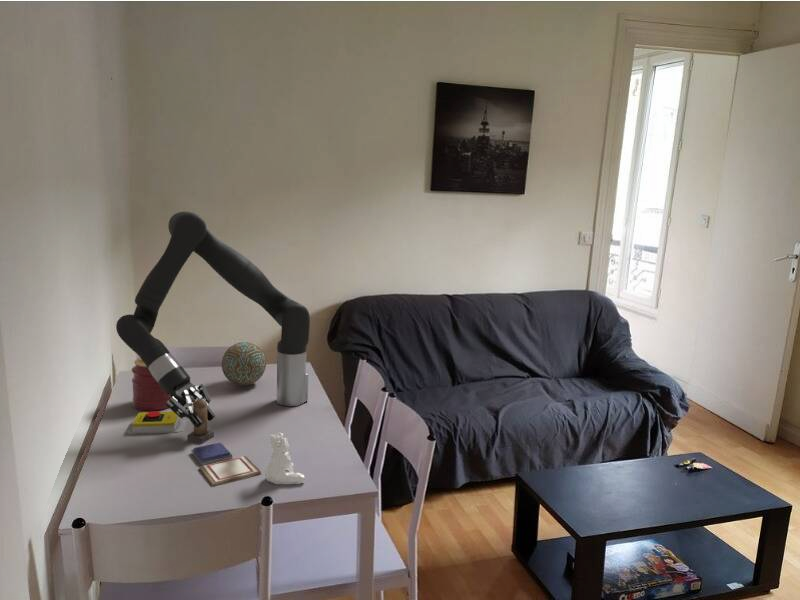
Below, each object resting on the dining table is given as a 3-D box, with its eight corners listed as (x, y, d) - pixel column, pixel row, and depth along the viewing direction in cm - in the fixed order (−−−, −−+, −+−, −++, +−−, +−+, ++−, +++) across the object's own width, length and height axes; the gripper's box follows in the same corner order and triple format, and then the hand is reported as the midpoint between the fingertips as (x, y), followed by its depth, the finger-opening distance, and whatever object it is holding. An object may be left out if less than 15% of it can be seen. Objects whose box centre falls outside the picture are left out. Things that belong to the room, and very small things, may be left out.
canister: (150, 415, 182) (148, 358, 179) (123, 405, 189) (121, 350, 186) (186, 402, 193) (185, 349, 190) (159, 393, 200) (158, 342, 197)
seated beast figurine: (307, 484, 146) (308, 437, 144) (273, 492, 142) (273, 444, 139) (291, 467, 154) (292, 423, 152) (258, 475, 149) (259, 429, 147)
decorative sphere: (266, 390, 208) (266, 348, 205) (220, 392, 204) (220, 349, 201) (265, 376, 222) (265, 337, 219) (222, 378, 218) (222, 337, 216)
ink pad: (221, 446, 164) (221, 441, 163) (232, 458, 157) (232, 452, 157) (191, 453, 159) (191, 447, 159) (201, 465, 153) (201, 459, 152)
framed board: (245, 458, 158) (245, 454, 158) (261, 474, 150) (261, 470, 150) (199, 468, 151) (199, 465, 151) (212, 486, 143) (212, 482, 143)
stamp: (199, 433, 171) (198, 395, 169) (213, 436, 170) (213, 398, 168) (187, 440, 167) (186, 401, 164) (202, 443, 165) (202, 404, 163)
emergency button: (132, 408, 177) (187, 406, 180) (133, 422, 178) (187, 420, 181) (125, 420, 168) (182, 418, 171) (126, 435, 169) (182, 433, 172)
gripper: (158, 373, 160) (197, 424, 159) (193, 359, 173) (230, 406, 172) (143, 389, 163) (181, 439, 161) (178, 374, 176) (214, 420, 175)
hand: (206, 422), depth 167 cm, fingers open, 4 cm apart
